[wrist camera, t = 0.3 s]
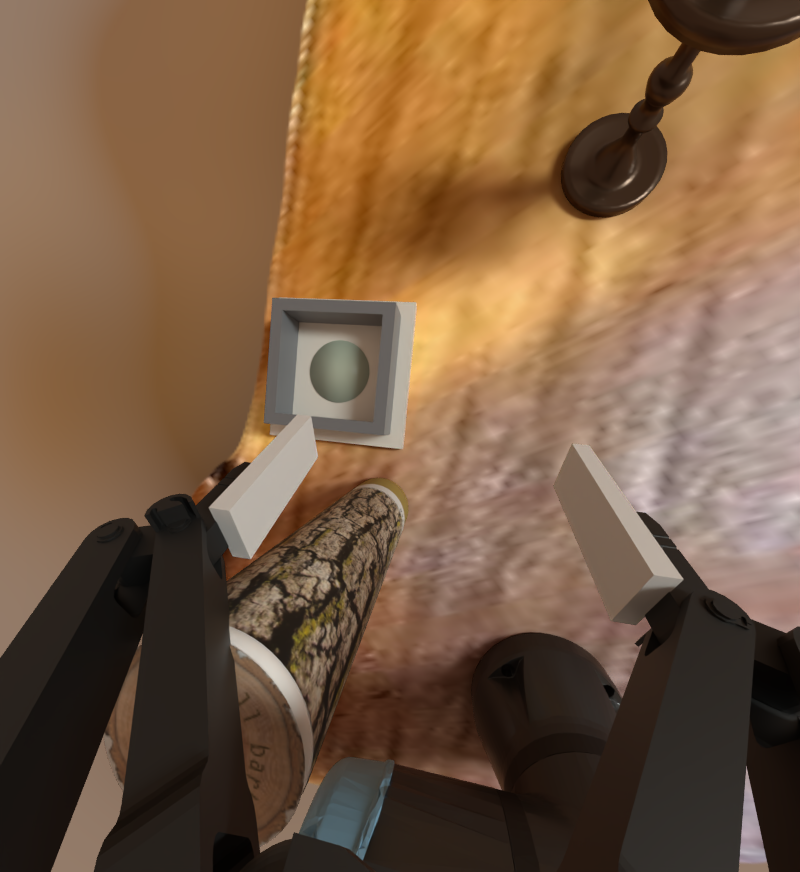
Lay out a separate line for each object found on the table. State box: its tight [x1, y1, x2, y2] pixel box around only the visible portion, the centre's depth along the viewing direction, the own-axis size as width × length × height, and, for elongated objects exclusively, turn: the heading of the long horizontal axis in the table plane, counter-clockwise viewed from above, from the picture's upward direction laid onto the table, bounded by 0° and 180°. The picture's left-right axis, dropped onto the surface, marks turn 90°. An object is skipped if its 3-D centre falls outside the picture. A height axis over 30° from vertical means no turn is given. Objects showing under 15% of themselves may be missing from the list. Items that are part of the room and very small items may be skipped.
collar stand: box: [264, 298, 417, 449], centre depth 31 cm, size 16×16×4 cm
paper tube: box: [103, 478, 408, 847], centre depth 21 cm, size 7×7×25 cm
